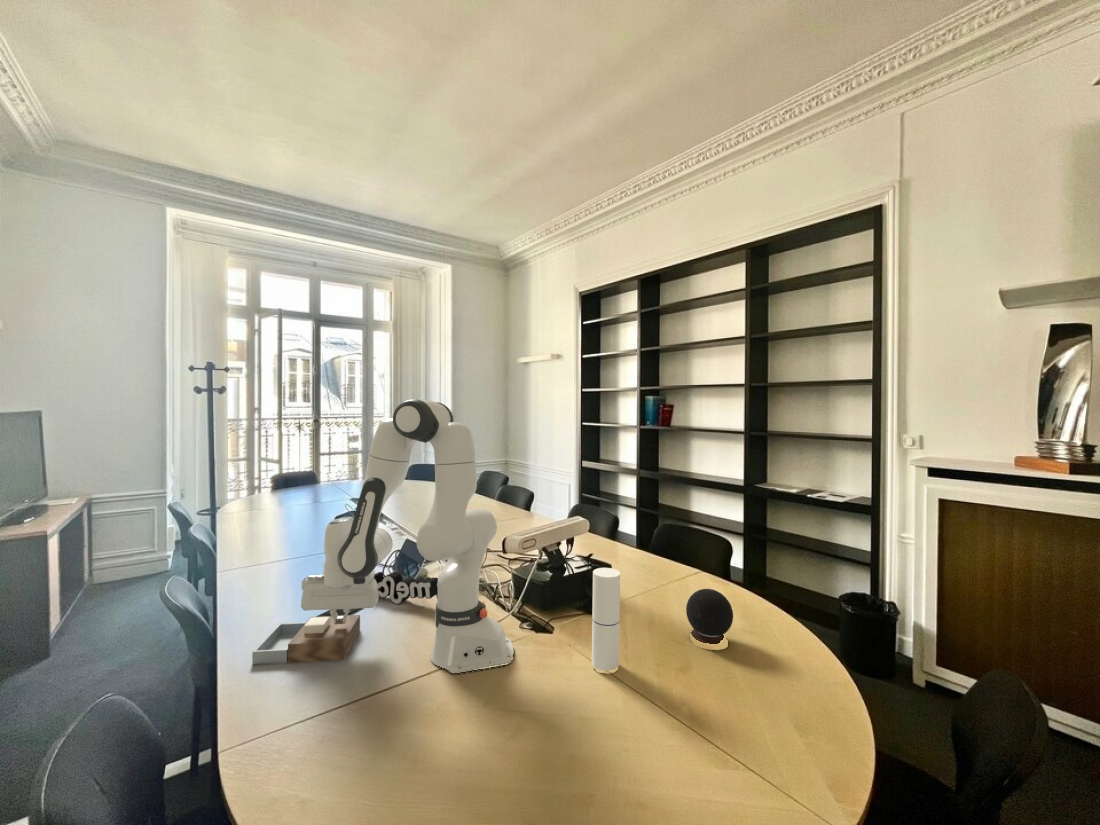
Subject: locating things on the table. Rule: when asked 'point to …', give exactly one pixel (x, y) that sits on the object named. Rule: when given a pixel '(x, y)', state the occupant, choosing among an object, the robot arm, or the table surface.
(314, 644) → the walnut block
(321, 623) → the tile
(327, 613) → the phone
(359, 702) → the table surface
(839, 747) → the table surface
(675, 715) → the table surface
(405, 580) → the decorative sign
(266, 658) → the box
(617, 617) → the cylindrical container
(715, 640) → the black ball on stand
